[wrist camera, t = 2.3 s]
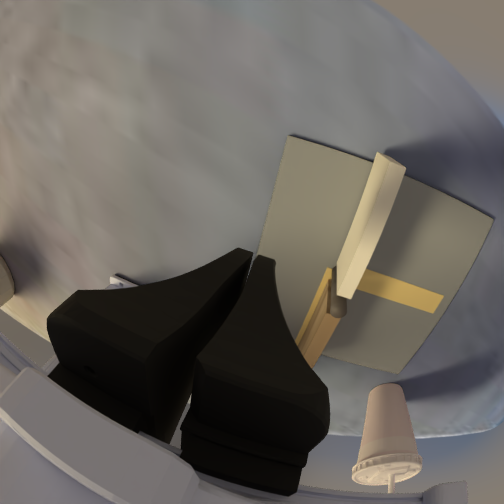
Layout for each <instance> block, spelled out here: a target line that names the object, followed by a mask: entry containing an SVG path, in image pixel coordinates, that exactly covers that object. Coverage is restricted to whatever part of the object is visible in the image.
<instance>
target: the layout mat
mask: <svg viewBox="0 0 504 504" xmlns="http://www.w3.org/2000/svg"><path fill="white" fill-rule="evenodd" d="M372 166H373V162H370V161H367V160H365V159H362V158H359V157H356V156H353V155H351V154H348V153H345V152H342V151H339V150H336V149H333V148H330V147H326V146H323V145H320V144H317V143H314V142H310V141H307V140H303V139H300V138H296V137H293V136H289V135H288V137H287V141H286V144H285V148H284V152H283V156H282V160H281V164H280V168H279V172H278V175H277V179H276V183H275V187H274V191H273V195H272V198H271V202H270V206H269V210H268V214H267V218H266V221H265V225H264V229H263V233H262V237H261V241H260V244H259V248H258V252H257V256H258V255H262V256H266V257H269V258H272V259H274V260H275V261H276V266H275V277H276V285H277V291H278V296H279V301H280V304H281V308H282V312H283V315H284V318H285V320H286V323H287V325H288V328H289V330H290V332H291V335H292V337H293V339H294V341H295V342H296V344H297V346H298V344H299V342H300V340H301V338H302V336H303V334H304V332H305V330H306V328H307V326H308V323H309V321H310V319H311V317H312V315H313V313H314V310H315V308H316V306H317V304H318V302H319V299H320V297H321V295H322V293H323V290H324V288H325V286H326V283H327V281H328V279H330V280H332V269H333V267H335V266H337V260H338V258H339V256H340V253H341V251H342V248H343V246H344V243H345V241H346V238H347V236H348V233H349V230H350V228H351V225H352V223H353V220H354V217H355V215H356V212H357V209H358V206H359V204H360V201H361V198H362V195H363V192H364V190H365V187H366V184H367V181H368V178H369V175H370V172H371V169H372ZM493 221H494V219H492V218H491V217H489V216H487V215H485V214H484V213H482V212H480V211H478V210H476V209H475V208H473V207H471V206H469V205H467V204H465V203H463V202H461V201H459V200H457V199H455V198H453V197H451V196H449V195H447V194H445V193H443V192H441V191H439V190H437V189H435V188H432V187H430V186H428V185H426V184H424V183H421V182H419V181H417V180H415V179H412V178H410V177H408V176H405V175H404V176H403V179H402V182H401V185H400V187H399V190H398V193H397V196H396V198H395V201H394V203H393V206H392V209H391V211H390V214H389V216H388V219H387V221H386V224H385V226H384V228H383V231H382V233H381V236H380V238H379V240H378V242H377V245H376V247H375V249H374V252H373V254H372V256H371V258H370V260H369V263H368V265H367V267H366V269H365V271H364V273H363V275H362V278H361V280H360V282H359V284H358V286H357V288H356V290H355V292H354V294H353V296H352V298H351V299H348V298H347V314H346V315H345V316H344V317H342V318H341V319H340V321H339V323H338V324H337V326H336V328H335V330H334V332H333V334H332V335H331V337H330V339H329V341H328V343H327V344H326V346H325V348H324V350H323V351H322V353H321V355H324V356H328V357H331V358H335V359H339V360H342V361H346V362H350V363H354V364H358V365H362V366H366V367H370V368H374V369H378V370H382V371H386V372H391V373H395V374H399V373H400V371H401V370H402V369H403V368H404V367H405V365H406V364H407V363H408V362H409V360H410V359H411V358H412V357H413V355H414V354H415V353H416V351H417V350H418V349H419V348H420V346H421V345H422V343H423V342H424V341H425V339H426V338H427V337H428V335H429V334H430V332H431V331H432V330H433V328H434V327H435V325H436V324H437V322H438V321H439V319H440V318H441V316H442V315H443V313H444V312H445V310H446V309H447V307H448V306H449V304H450V303H451V301H452V299H453V298H454V296H455V294H456V293H457V291H458V289H459V288H460V286H461V284H462V283H463V281H464V279H465V277H466V276H467V274H468V272H469V270H470V268H471V266H472V265H473V263H474V261H475V259H476V257H477V255H478V253H479V251H480V249H481V247H482V245H483V243H484V241H485V239H486V237H487V234H488V232H489V230H490V228H491V226H492V223H493ZM257 256H256V257H257Z"/></svg>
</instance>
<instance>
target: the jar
mask: <svg viewBox="0 0 504 504" xmlns="http://www.w3.org/2000/svg"><path fill="white" fill-rule="evenodd" d="M14 290H15V289H14V281H13V278H12V275H11V273H10V270H9V268H8V266H7V265H6V263H5V261H4V259H3V258H2V257H1V256H0V307H1V306H2V305H4V304H5V303H6V302H7V301H8V300H10V299H11V298H12V297H13V294H14Z"/></svg>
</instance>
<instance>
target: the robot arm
mask: <svg viewBox="0 0 504 504" xmlns="http://www.w3.org/2000/svg"><path fill="white" fill-rule="evenodd" d="M252 256H253V252H250V251H247V250H244V249H241V248H237V249H235V250H233V251H231V252H229V253H227V254H225V255H224V256H222V257H220V258H218V259H216V260H214V261H212V262H210V263H208V264H206V265H204V266H202V267H200V268H198V269H195V270H193V271H191V272H188V273H186V274H183V275H180V276H177V277H174V278H171V279H167V280H164V281H160V282H155V283H151V284H146V285H141V286H138V285H136V284H133V283H131V282H129V281H127V280H124V279H122V278H120V277H118V276H115V275H112V276H111V277H110V285H109V286H108V287H107V288H105V289H104V290H77V291H76V292H75V293H74V294H72V295H71V296H70V297H69V298H68V299H67V300H65V301H64V302H63V303H62V304H61V305H60V306H59V307H57V308H56V309H55V310H54V311H53V312H52V313H51V314H50V315H49V316H48V318H47V331H48V335H49V338H50V340H51V343H52V345H53V348H54V351H55V353H56V354H55V355H53V356H52V357H51V358H50V359H49V360H48V362H46V364H45V365H44V366H43V367H42V368H41V367H40V366H39V365H37V364H36V363H35V362H34V361H33V360H31V359H30V358H29V357H28V356H26V355H25V354H24V353H23V352H22V351H21V350H20V349H19V348H17V347H16V346H15V345H14V344H13V343H12V342H11V341H9V339H7V337H5V336H4V335H3V334H2V333H1V332H0V420H1V422H0V504H468V491H467V482H466V481H460V482H450V483H442V484H439V485H436V486H433V487H431V488H429V489H428V490H426V491H425V492H423V493H363V492H350V491H340V490H331V489H323V488H316V487H310V486H304V485H299V481H300V476H301V471H302V468H304V467H305V465H306V463H307V458H308V453H309V452H310V451H311V450H312V449H313V448H314V447H315V446H317V445H318V444H319V443H320V442H321V441H322V440H323V439H324V438H325V436H326V435H327V434H328V429H329V425H330V403H329V394H328V388H327V387H326V385H325V384H324V383H323V382H322V381H321V379H320V378H319V377H318V376H317V374H316V373H315V372H314V371H313V370H312V368H311V367H310V366H309V364H308V363H307V361H306V360H305V358H304V357H303V355H302V353H301V351H300V350H299V348H298V346H297V344H296V342H295V341H294V339H293V337H292V335H291V332H290V330H289V328H288V325H287V323H286V320H285V318H284V315H283V312H282V308H281V304H280V301H279V296H278V291H277V285H276V277H275V266H276V261H275V260H274V259H272V258H269V257H266V256H262V255H258V256H257V257H256V258H255V260H254V262H253V265H252V267H251V270H250V273H249V276H248V272H249V268H250V264H251V260H252ZM247 276H248V279H247ZM246 280H247V282H246ZM245 284H246V285H245ZM244 287H245V288H244ZM191 393H192V395H191ZM190 395H191V403H190V408H189V410H188V412H187V414H186V417H185V418H184V420H183V422H182V424H181V427H180V430H181V431H182V436H181V449H178V448H176V447H174V446H171V445H169V444H170V441H171V439H172V437H173V435H174V432H175V430H176V427H177V425H178V422H179V420H180V418H181V416H182V413H183V411H184V409H185V406H186V404H187V402H188V400H189V398H190Z"/></svg>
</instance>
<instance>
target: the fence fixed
mask: <svg viewBox="0 0 504 504" xmlns="http://www.w3.org/2000/svg"><path fill="white" fill-rule="evenodd" d="M346 314H347V298H345V297H342V296H339V295H337V266H335V267H333V269H332V280H330V279H328V281H327V283H326V286H325V288H324V290H323V293H322V295H321V297H320V299H319V302H318V304H317V306H316V308H315V310H314V313H313V315H312V317H311V319H310V321H309V323H308V326H307V328H306V330H305V332H304V334H303V336H302V338H301V340H300V342H299V344H298V348H299V350H300V351H301V353H302V355H303V357H304V358H305V360H306V361H307V363H308V364H309V366H310V367H311V368H313V367H314V365H315V363H316V362H317V360H318V358H319V356H320V355H321V353H322V351H323V350H324V348H325V346H326V344H327V343H328V341H329V339H330V337H331V335H332V334H333V332H334V330H335V328H336V326H337V324H338V323H339V321H340V319H341V318H342V317H344V316H345V315H346Z"/></svg>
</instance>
